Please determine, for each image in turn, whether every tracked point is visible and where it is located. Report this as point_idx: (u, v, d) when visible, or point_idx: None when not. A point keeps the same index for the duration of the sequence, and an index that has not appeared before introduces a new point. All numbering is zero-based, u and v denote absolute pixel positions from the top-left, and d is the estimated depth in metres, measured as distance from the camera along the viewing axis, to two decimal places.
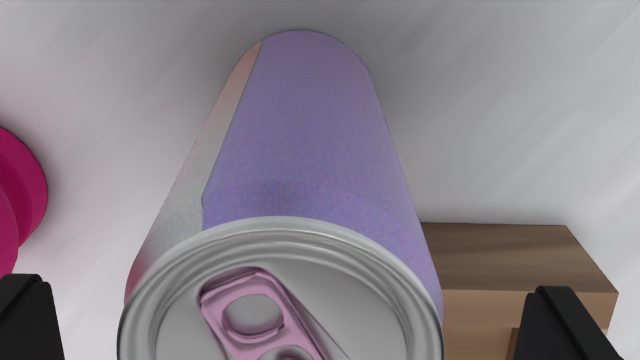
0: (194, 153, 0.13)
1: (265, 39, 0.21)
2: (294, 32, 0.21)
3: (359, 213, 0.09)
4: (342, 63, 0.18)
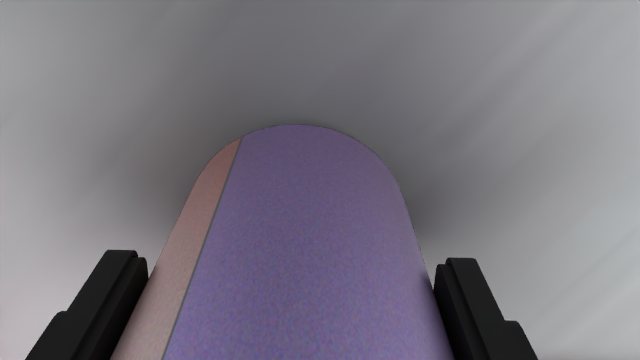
0: None
1: (244, 138, 0.14)
2: (287, 129, 0.14)
3: None
4: (363, 199, 0.11)
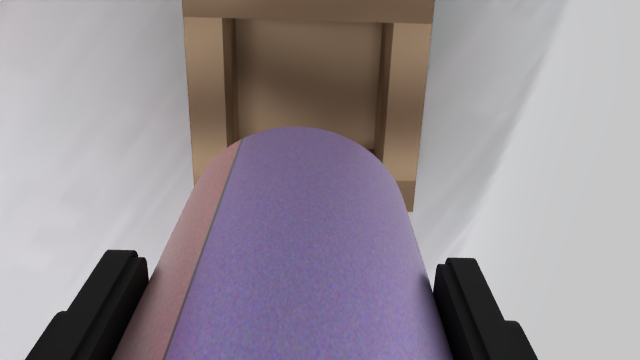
0: None
1: (244, 140, 0.14)
2: (287, 132, 0.14)
3: None
4: (362, 202, 0.11)
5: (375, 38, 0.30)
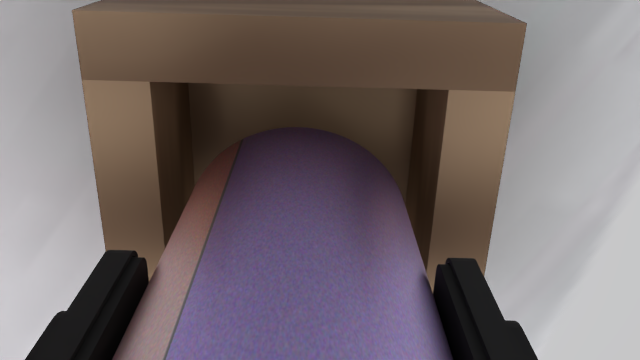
0: None
1: (244, 141, 0.14)
2: (287, 132, 0.14)
3: None
4: (362, 203, 0.11)
5: (406, 98, 0.19)
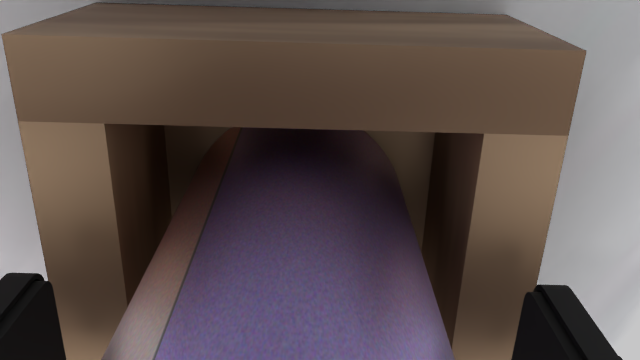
0: None
1: None
2: None
3: None
4: (358, 175, 0.12)
5: None
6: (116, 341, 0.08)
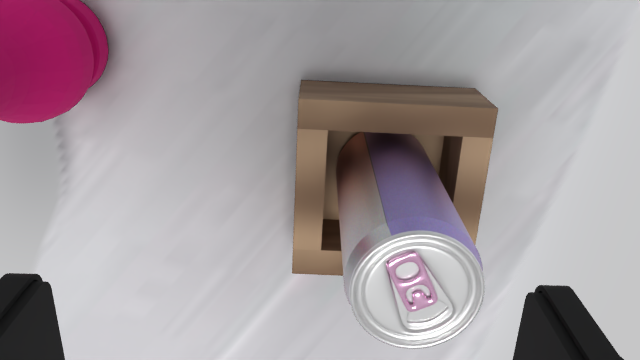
0: (360, 202, 0.27)
1: None
2: None
3: (451, 230, 0.23)
4: (417, 151, 0.33)
5: (439, 137, 0.37)
6: (356, 190, 0.29)
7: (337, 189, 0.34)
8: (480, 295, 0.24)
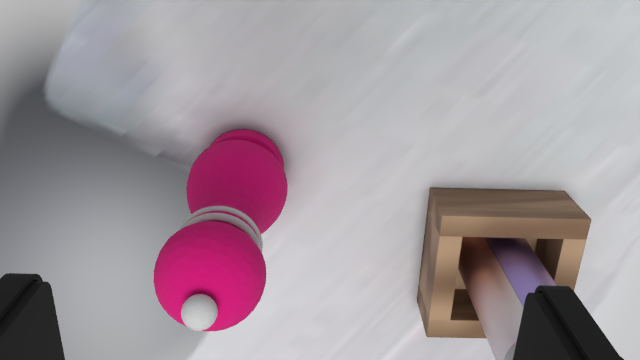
0: (504, 304, 0.38)
1: None
2: None
3: None
4: (528, 249, 0.43)
5: None
6: (495, 290, 0.39)
7: (465, 276, 0.44)
8: None
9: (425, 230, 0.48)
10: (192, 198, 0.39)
